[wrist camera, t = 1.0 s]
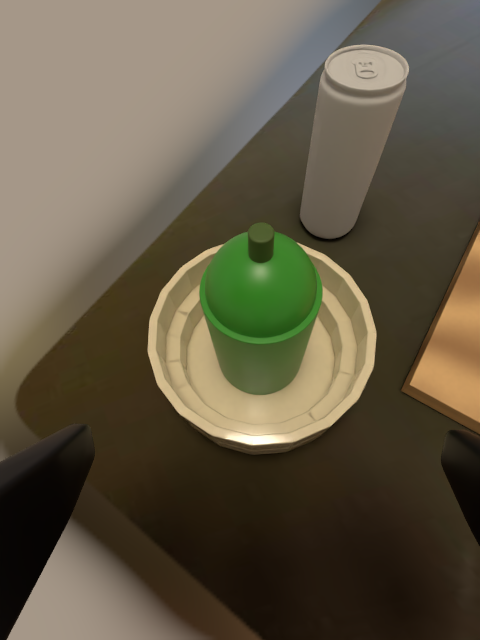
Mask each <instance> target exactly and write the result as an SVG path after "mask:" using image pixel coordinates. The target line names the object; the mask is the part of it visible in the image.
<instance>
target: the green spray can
mask: <svg viewBox="0 0 480 640" xmlns="http://www.w3.org/2000/svg"><path fill="white" fill-rule="evenodd" d="M199 296H200V302H201V306H202V310H203V313H204V316H205V320H206V323H207V326H208V330H209V333H210V336H211V339H212V343H213V346H214V349H215V353H216V356H217V359H218V363H219V366H220V369H221V371H222V373H223V375H224V377H225V378H226V379H227V380H228V381H229V382H230V383H231V384H232V385H233V386H234V387H236V388H237V389H239V390H241V391H243V392H246V393H249V394H254V395H267V394H272V393H275V392H277V391H280V390H282V389H283V388H285V387H286V386H287V385H289V384H290V383H291V382H292V381H293V379H294V378H295V377H296V375H297V373H298V371H299V369H300V366H301V363H302V360H303V357H304V354H305V351H306V348H307V345H308V342H309V339H310V336H311V333H312V330H313V327H314V324H315V321H316V318H317V315H318V312H319V309H320V306H321V303H322V297H323V288H322V282H321V279H320V276H319V274H318V271H317V269H316V268H315V266H314V265H313V263H312V262H311V260H310V258H309V256H308V255H307V253H306V252H305V251H304V250H303V248H302V247H301V246H300V245H299V244H297V243H296V242H295V241H294V240H292V239H291V238H289V237H287V236H285V235H283V234H280V233H277V232H274V229H273V228H272V226H270V225H269V224H267V223H256V224H254V225H252V226H251V227H250V228H249V230H248V232H245V233H242V234H240V235H237V236H235V237H234V238H232V239H230V240H229V241H228V242H226V243H225V244H224V245H223V246H222V247H221V248H220V249H219V250H218V251H217V253H216V254H215V255H214V257H213V258H212V260H211V262H210V264H209V265H208V266H207V268H206V270H205V272H204V273H203V276H202V279H201V283H200V290H199Z"/></svg>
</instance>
